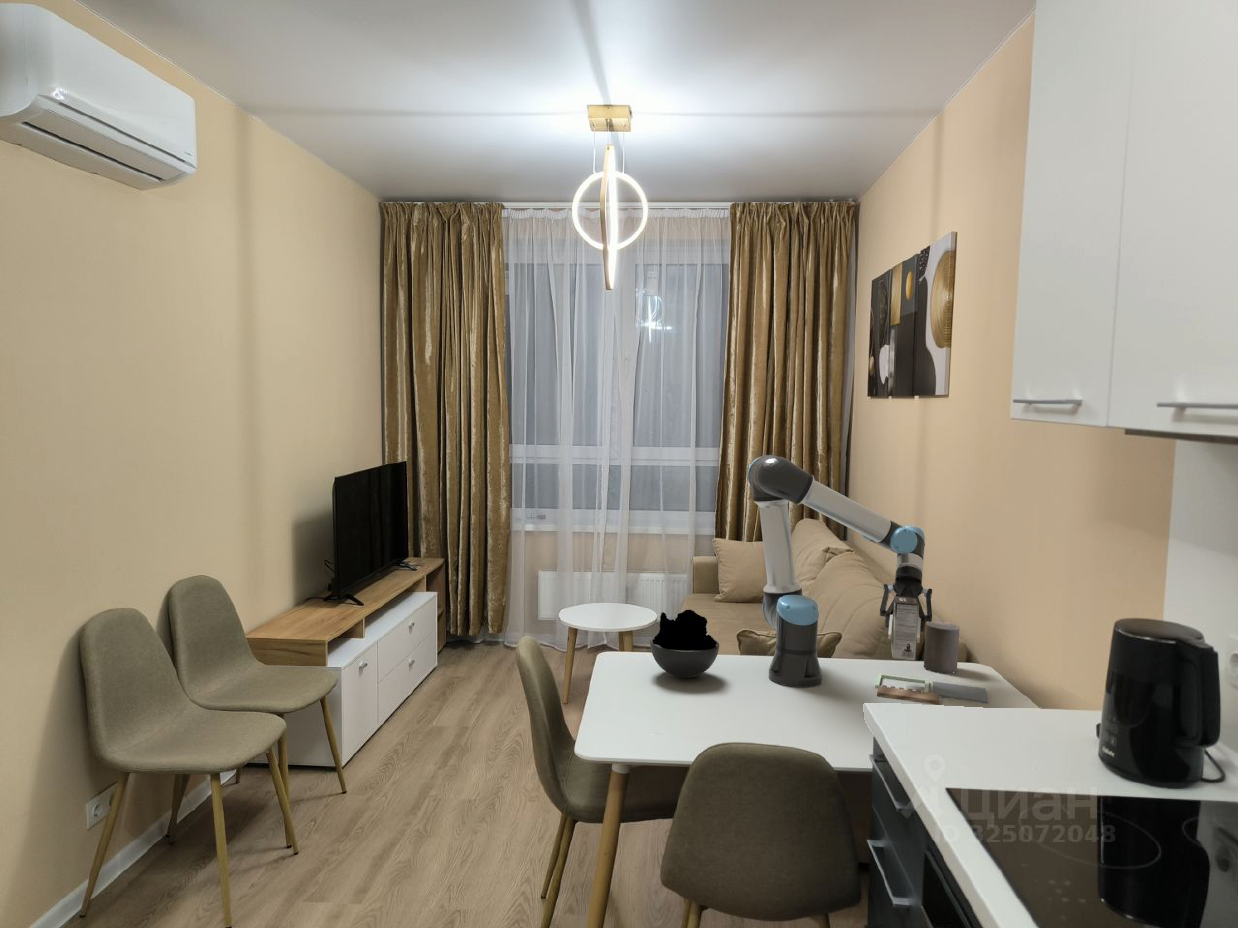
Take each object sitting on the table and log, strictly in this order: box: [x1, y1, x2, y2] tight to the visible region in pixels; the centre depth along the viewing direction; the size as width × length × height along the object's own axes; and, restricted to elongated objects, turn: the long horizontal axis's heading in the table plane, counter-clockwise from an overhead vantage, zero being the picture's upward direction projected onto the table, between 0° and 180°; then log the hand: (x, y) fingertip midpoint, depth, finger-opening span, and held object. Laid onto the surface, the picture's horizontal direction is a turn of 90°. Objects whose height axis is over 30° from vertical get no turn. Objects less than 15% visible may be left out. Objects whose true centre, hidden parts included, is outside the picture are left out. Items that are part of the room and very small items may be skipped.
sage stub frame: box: [874, 672, 930, 693], centre depth 230 cm, size 14×12×1 cm
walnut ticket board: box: [876, 685, 941, 706], centre depth 220 cm, size 16×6×1 cm, turn 68°
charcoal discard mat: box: [931, 681, 989, 704], centre depth 224 cm, size 14×12×1 cm
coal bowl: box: [649, 609, 720, 679], centre depth 232 cm, size 20×20×19 cm
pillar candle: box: [923, 620, 961, 674], centre depth 247 cm, size 10×10×15 cm
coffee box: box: [890, 595, 919, 661], centre depth 229 cm, size 9×6×16 cm
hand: (903, 638), depth 226 cm, fingers closed on coffee box, 7 cm apart
